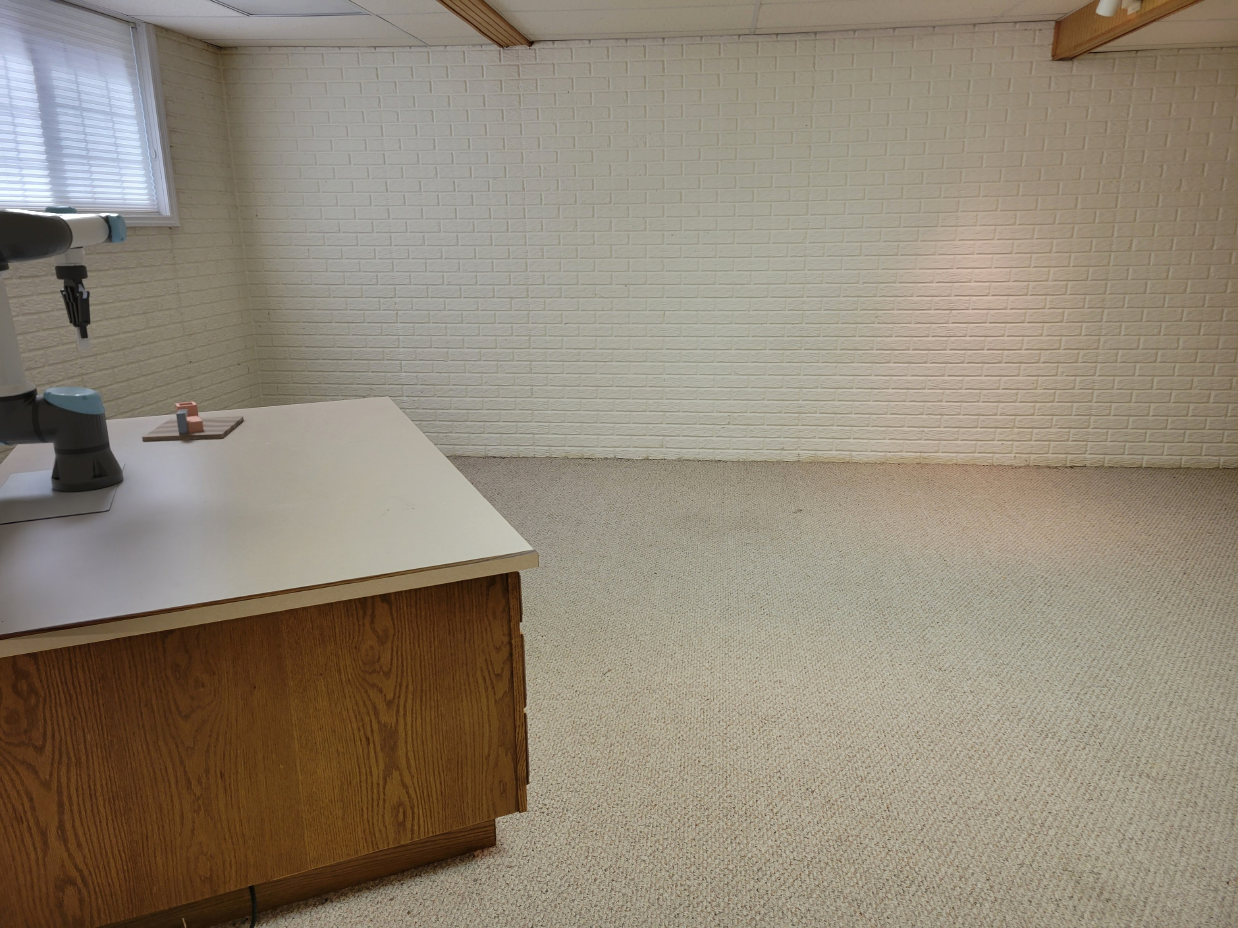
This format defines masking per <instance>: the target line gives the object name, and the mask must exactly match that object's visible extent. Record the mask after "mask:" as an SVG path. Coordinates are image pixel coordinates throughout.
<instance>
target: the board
mask: <svg viewBox="0 0 1238 928" xmlns="http://www.w3.org/2000/svg"><path fill="white" fill-rule="evenodd" d="M199 418H200V419H201V420H202V421H203V429H204V431H196V432H189V433H188V434H179V431H178V424H177V418H169V419H167V420H166V421H164V422H163V423H162V424H160V425H158V426H157V427H155V428H153V430H150V431H148V433H146V434H145V435H143V436H142V437H141V438H142V442H151V441H153V442H155V441H156V442H157V441H177V440H178V441H179V440H180V441H181V440H204V439H205V440H209V439H210V440H211V439H223V438H224V437H226V436H227V435H228V434H229V433H230V432H231V431H232V430H234V429H235V428H236V427H237V426H238V425H240V424H241V423H242V422H244V420H245V419H244V416H220V417H217V416H216V417H199Z"/></svg>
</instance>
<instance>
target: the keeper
mask: <svg viewBox="0 0 1238 928" xmlns="http://www.w3.org/2000/svg"><path fill="white" fill-rule="evenodd" d="M187 414H188V409H182V410H178V412H177V413H176V412H175V416H176V419H177V424H178V431H179V434H188V433H189V430H188V422H187Z"/></svg>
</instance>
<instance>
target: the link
mask: <svg viewBox="0 0 1238 928" xmlns="http://www.w3.org/2000/svg"><path fill="white" fill-rule="evenodd" d="M174 409H175V414H176V413H177V412H178V410H182V409H188V414H187V422H188V430H189V432H196V431H204V429H203V421H202V420H201V419H200V418H201V417H200V415H199V411H198V404H197V403H196V402H195V401H187V402H179V403H174Z"/></svg>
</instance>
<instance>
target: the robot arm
mask: <svg viewBox="0 0 1238 928" xmlns="http://www.w3.org/2000/svg"><path fill="white" fill-rule="evenodd" d="M44 211H45V212H40V211H39V212H38V211H31V210H23V209H14V208H13V209H12V208H0V446H14V445H17V446H18V445H35V444H36V445H37V444H52V445H53V450H54V461H53V465H52V466H53V467H52V471H51V477H50V480H51V486H52V489H53V490H55V491H59V492H82V491H91V490H92V491H93V490H97V489H101V488H106V487H110V486H113V485H116V484H118V483H119V482H122V481H123V480H124V474H123V469H122V467H121V466H120V464H119V461H118V460H117V458H116V456H115V454H114V453H113V451H112V449H111V444H110V438H109V431H108V425H107V418H106V409H105V407H104V406H105V405H104V402H103V399H102V396H101V394H100V392H98V391H96V390H94V389H91V388H87V387H79V386H64V387H63V386H55V387H50V388H46V389H45V390H44V392H43V394H39V393H38V388H37V385H36V384H35V383H33V382H32V381H30V380H28V379H27V374H26V371H25V370H26V369H25V366H24V362H23V357H22V353H21V349H20V345H19V340H18V335H17V331H16V327H15V322H14V317H13V314H12V313H13V312H12V309H11V304H10V299H9V297H8V292H7V288H6V284H5V279H4V278H5V276H6V275H7V274H8V272H9V271H10V265H9V264H15V263H17V264H18V263H19V264H20V263H26V262H33V261H37V260H43V259H46V258H50V257H52V261H53V264H56V265H55V267H54V271H55V276H56V279H57V280H61V281H63V288H62V289H60V290H59V291H60V295H61V297H62V300H63V303H64V308H65V311H66V314H67V318H68V322H69V324H70V325H72V327H74V334H75V339H76V345H77V350H78V351H81V352H82V351H89V350H91V348H92V347H91V343H90V338H89V337H90V336H89V330H88V326H90V325H91V310H90V309H91V307H90V295H91V292H90V291H89V290H86V287H85V285H84V281H83V280H85V279H88V278H89V276H88V268H87V266H86V265H85V263H86V257H85V256H86V252H85V251H84V250H85V249H84V247H86V246H90V245H91V246H92V245H99V244H120V243H124V242H125V241H126V240H127V237H128V228H127V223H126V220H125V218H124V217H123V216H122V215H121V214H119V213H110V212H108V213H78V209H76V207H74V206H46V207H45V210H44Z"/></svg>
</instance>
